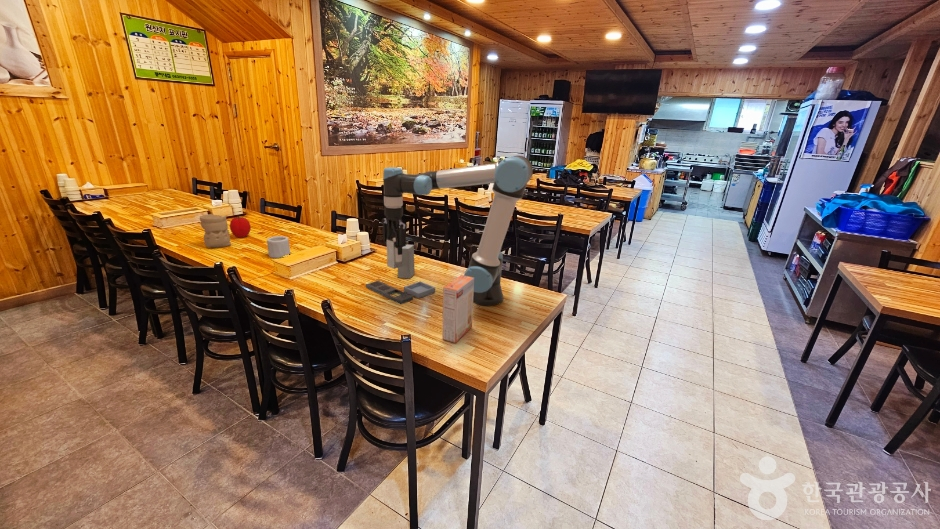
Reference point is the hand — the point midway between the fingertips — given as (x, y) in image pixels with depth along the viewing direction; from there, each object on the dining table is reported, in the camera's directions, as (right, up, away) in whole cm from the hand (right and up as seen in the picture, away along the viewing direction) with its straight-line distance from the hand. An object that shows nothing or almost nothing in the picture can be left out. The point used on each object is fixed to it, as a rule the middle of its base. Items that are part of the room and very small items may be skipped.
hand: (394, 259), depth 160 cm
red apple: (-114, +16, +78) cm, 139 cm away
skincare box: (0, -8, +30) cm, 31 cm away
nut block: (0, -3, +1) cm, 3 cm away
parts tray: (+9, -15, +12) cm, 21 cm away
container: (-116, +9, +58) cm, 130 cm away
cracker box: (+28, -28, -21) cm, 45 cm away
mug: (-76, +3, +49) cm, 91 cm away
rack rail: (-4, -15, +9) cm, 18 cm away
